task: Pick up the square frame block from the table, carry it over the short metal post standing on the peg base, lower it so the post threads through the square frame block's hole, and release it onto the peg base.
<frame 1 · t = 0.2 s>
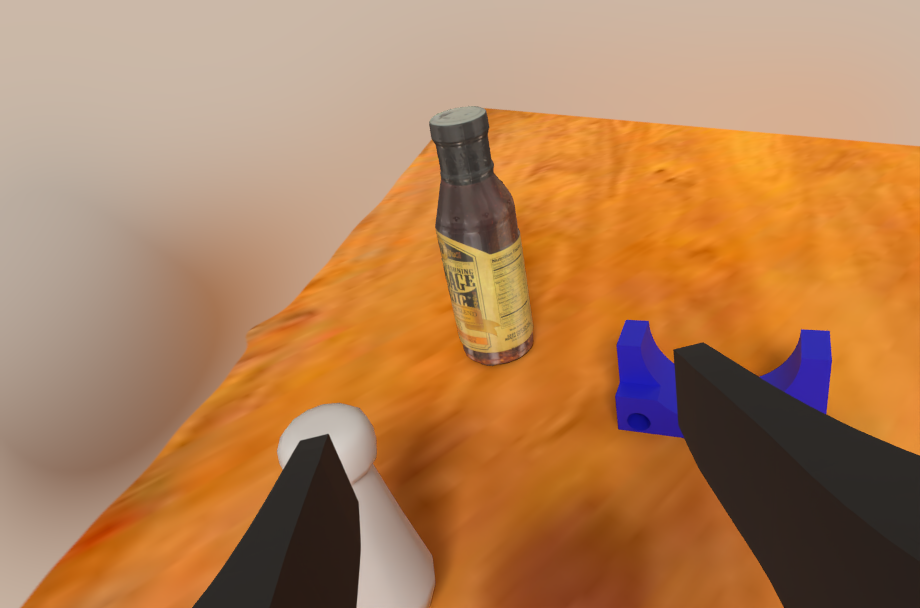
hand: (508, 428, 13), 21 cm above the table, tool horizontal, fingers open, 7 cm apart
sauce bottle: (500, 350, 54), on the table
cable clip: (717, 422, 42), on the table
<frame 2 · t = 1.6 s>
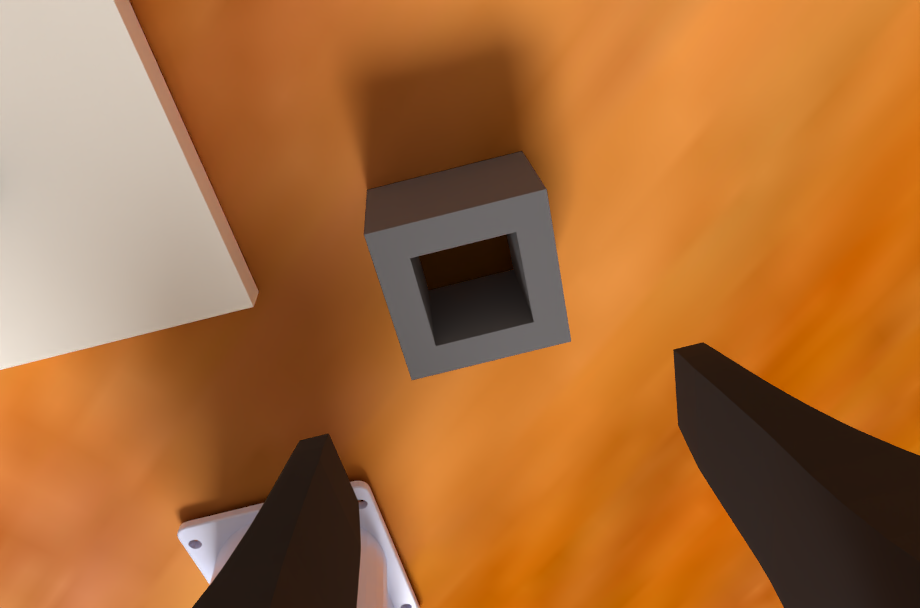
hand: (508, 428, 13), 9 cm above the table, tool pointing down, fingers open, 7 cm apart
square frame block: (461, 241, 21), on the table
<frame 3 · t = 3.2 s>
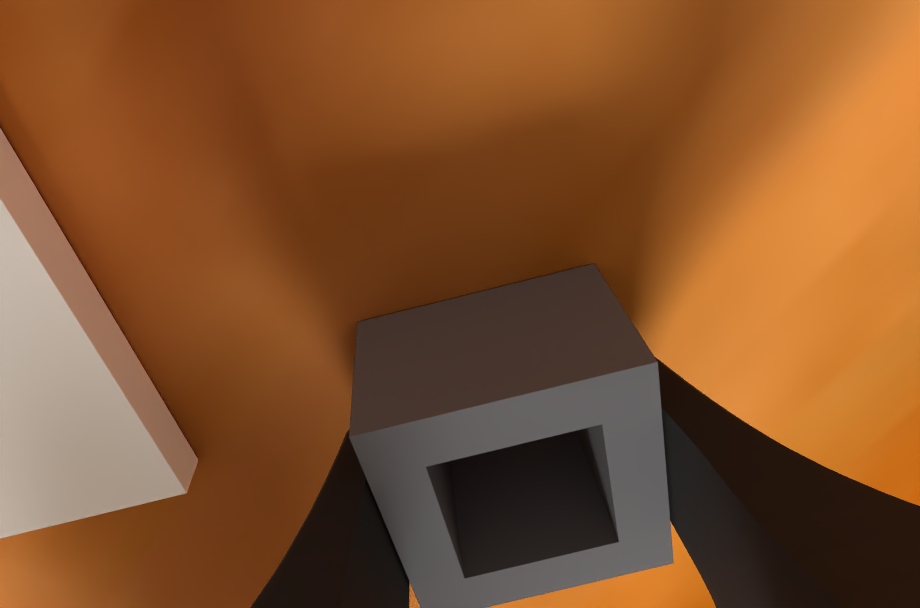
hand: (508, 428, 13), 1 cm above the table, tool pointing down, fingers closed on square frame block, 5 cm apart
square frame block: (498, 386, 14), on the table, touching gripper
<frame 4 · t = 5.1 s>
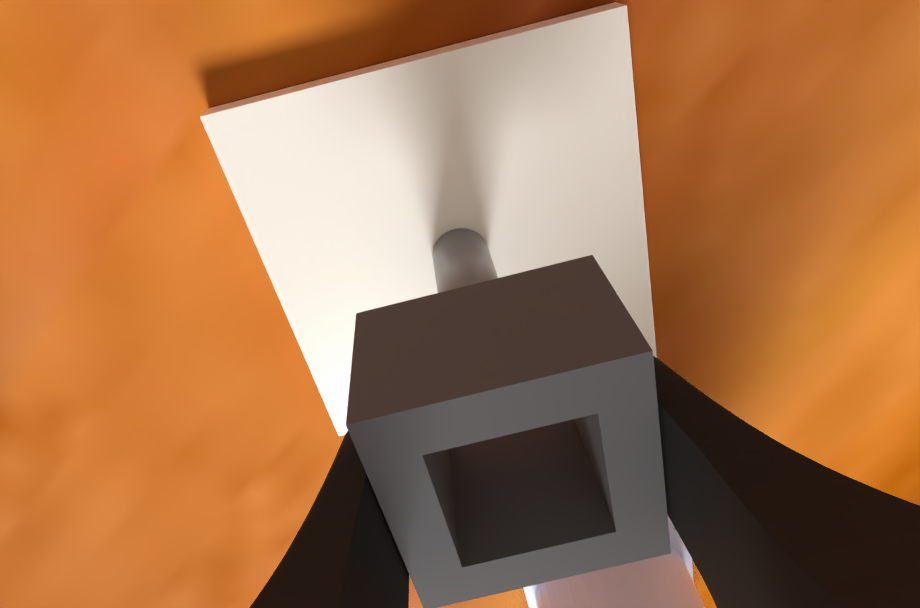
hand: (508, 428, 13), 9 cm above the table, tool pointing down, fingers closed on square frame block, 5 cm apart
peg base: (457, 241, 21), on the table
square frame block: (497, 378, 14), point 8 cm above the table, touching gripper
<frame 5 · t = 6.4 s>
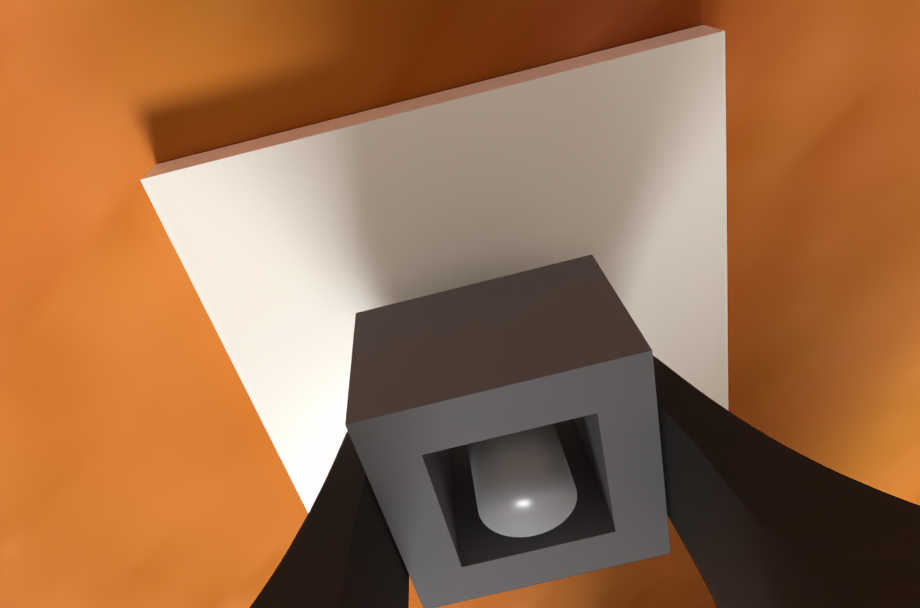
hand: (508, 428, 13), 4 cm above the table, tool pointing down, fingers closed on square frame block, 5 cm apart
peg base: (483, 326, 17), on the table
square frame block: (496, 378, 14), point 2 cm above the table, touching gripper
when the fingers open (4 cm above the table, at t = 7.3 s): square frame block drops 1 cm, resting on peg base.
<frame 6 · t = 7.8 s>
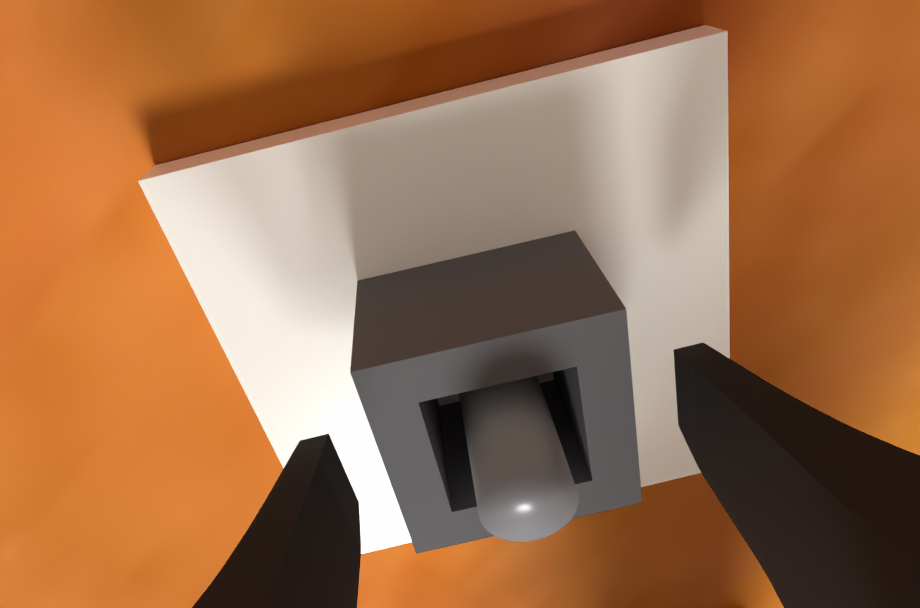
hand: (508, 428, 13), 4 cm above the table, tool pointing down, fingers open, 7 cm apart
peg base: (483, 328, 16), on the table
square frame block: (486, 345, 16), point 1 cm above the table, touching peg base
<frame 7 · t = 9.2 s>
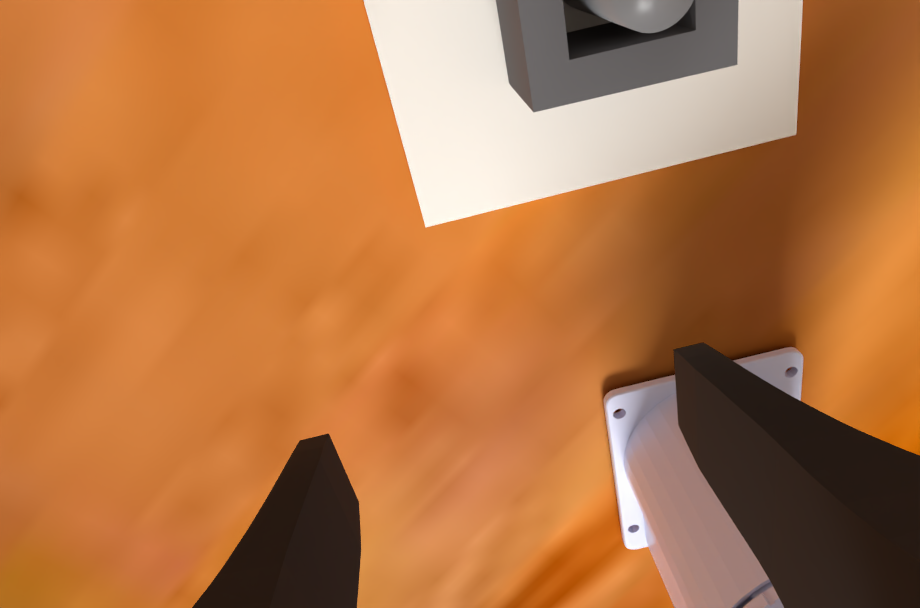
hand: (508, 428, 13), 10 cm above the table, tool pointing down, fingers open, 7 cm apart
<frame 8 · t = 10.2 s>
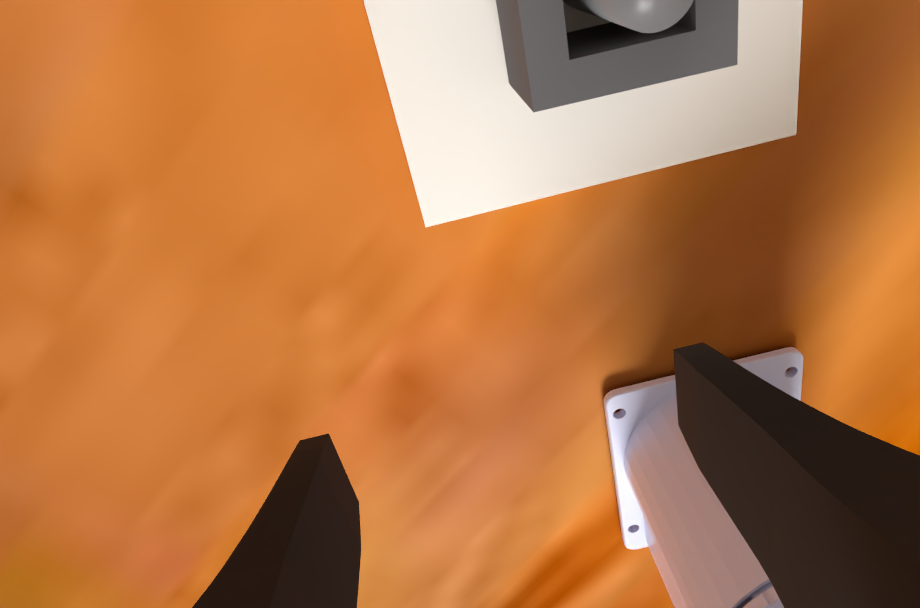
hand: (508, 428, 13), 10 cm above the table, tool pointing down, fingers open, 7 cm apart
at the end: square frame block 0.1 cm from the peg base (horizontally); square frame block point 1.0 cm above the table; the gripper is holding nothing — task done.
